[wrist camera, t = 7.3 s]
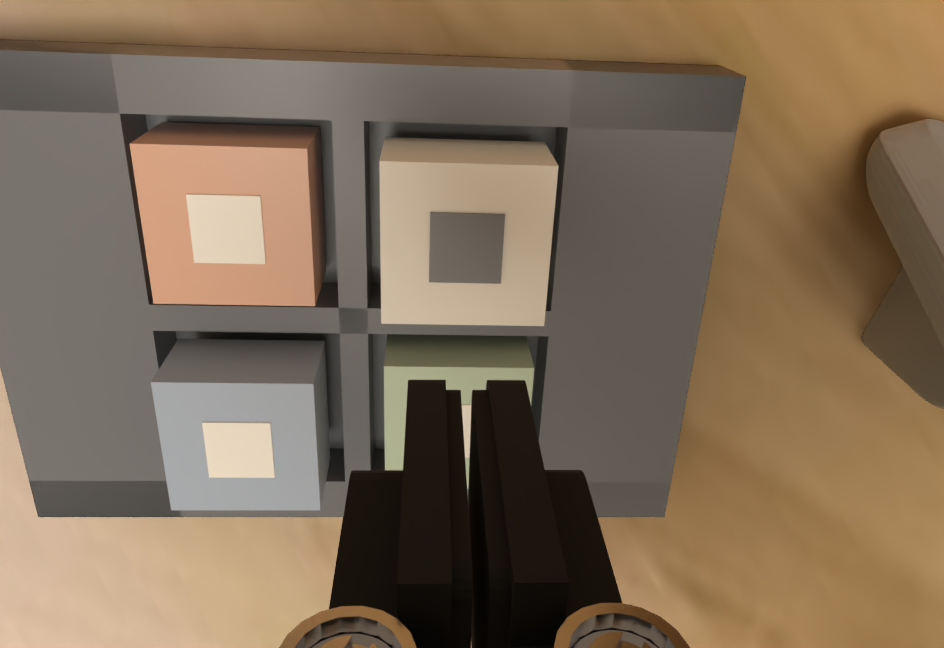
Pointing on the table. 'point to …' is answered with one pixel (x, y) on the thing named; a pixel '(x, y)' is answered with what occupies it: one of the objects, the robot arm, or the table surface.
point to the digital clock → (911, 254)
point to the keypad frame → (353, 251)
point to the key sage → (446, 376)
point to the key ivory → (465, 231)
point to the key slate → (244, 424)
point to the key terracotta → (231, 213)
